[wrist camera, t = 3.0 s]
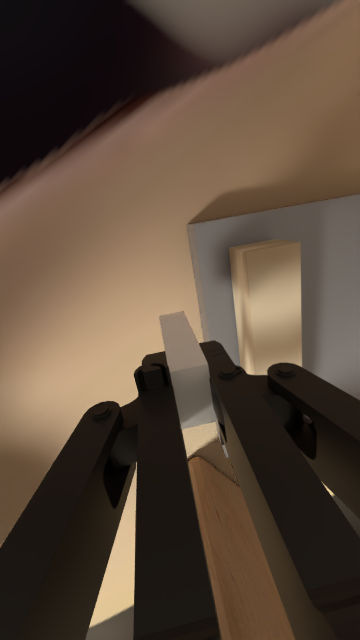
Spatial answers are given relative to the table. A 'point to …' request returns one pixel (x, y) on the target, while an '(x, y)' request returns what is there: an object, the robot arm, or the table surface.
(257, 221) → the stool seat
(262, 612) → the wooden block
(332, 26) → the table surface
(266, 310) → the folding leg
